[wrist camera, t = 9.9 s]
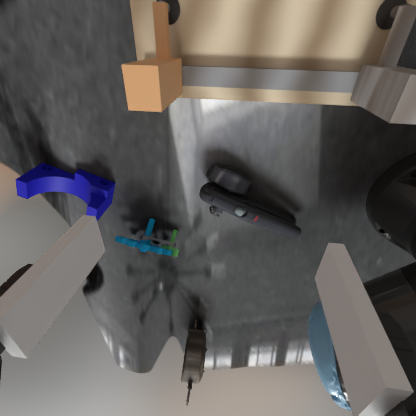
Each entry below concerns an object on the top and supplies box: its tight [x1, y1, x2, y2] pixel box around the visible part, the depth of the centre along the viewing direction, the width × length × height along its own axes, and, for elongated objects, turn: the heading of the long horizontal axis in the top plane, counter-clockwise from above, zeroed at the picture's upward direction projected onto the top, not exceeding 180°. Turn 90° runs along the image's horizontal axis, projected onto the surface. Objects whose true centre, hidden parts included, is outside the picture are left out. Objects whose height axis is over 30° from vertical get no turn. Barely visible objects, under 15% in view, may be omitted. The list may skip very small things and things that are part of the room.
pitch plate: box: [130, 0, 416, 124], centre depth 22 cm, size 28×12×12 cm, turn 89°
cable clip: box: [16, 163, 115, 221], centre depth 39 cm, size 12×4×6 cm, turn 69°
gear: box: [115, 218, 179, 257], centre depth 43 cm, size 11×6×10 cm
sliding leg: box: [121, 0, 183, 112], centre depth 23 cm, size 3×8×10 cm, turn 179°
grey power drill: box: [181, 319, 207, 405], centre depth 57 cm, size 11×5×16 cm, turn 173°
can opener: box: [200, 163, 301, 238], centre depth 37 cm, size 18×7×6 cm, turn 60°
